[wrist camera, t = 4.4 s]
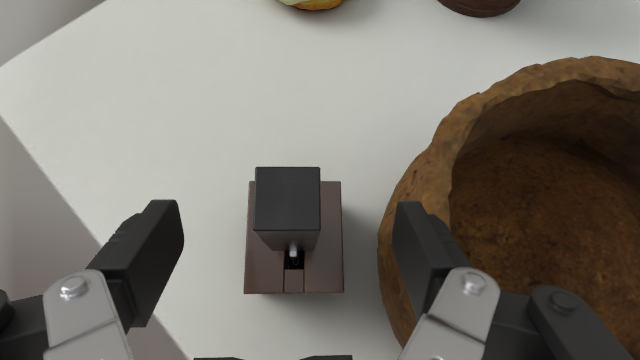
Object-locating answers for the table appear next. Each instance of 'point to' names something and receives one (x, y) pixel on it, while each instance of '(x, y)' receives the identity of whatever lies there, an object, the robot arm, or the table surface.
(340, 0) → the decorated donut
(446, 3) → the black ball on stand
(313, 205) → the knife
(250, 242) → the knife block
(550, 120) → the bowl
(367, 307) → the table surface
